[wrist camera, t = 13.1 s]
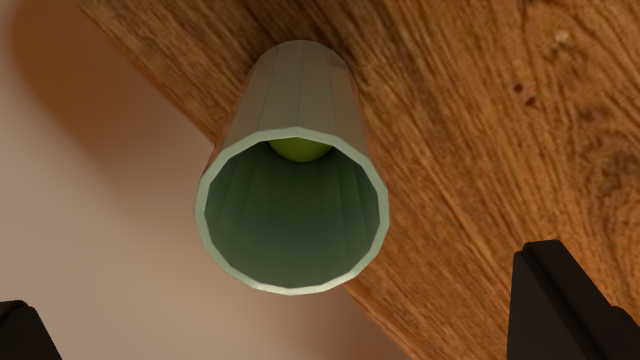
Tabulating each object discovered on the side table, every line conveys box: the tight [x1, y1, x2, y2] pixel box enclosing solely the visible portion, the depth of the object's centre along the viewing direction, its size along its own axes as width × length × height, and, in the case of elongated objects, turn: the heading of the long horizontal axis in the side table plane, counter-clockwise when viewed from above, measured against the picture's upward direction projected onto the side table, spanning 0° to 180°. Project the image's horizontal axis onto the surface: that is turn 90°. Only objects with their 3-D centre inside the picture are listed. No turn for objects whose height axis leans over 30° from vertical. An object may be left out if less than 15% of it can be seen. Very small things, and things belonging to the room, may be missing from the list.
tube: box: [194, 40, 390, 295], centre depth 19 cm, size 6×6×12 cm
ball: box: [268, 137, 333, 162], centre depth 23 cm, size 4×4×4 cm
